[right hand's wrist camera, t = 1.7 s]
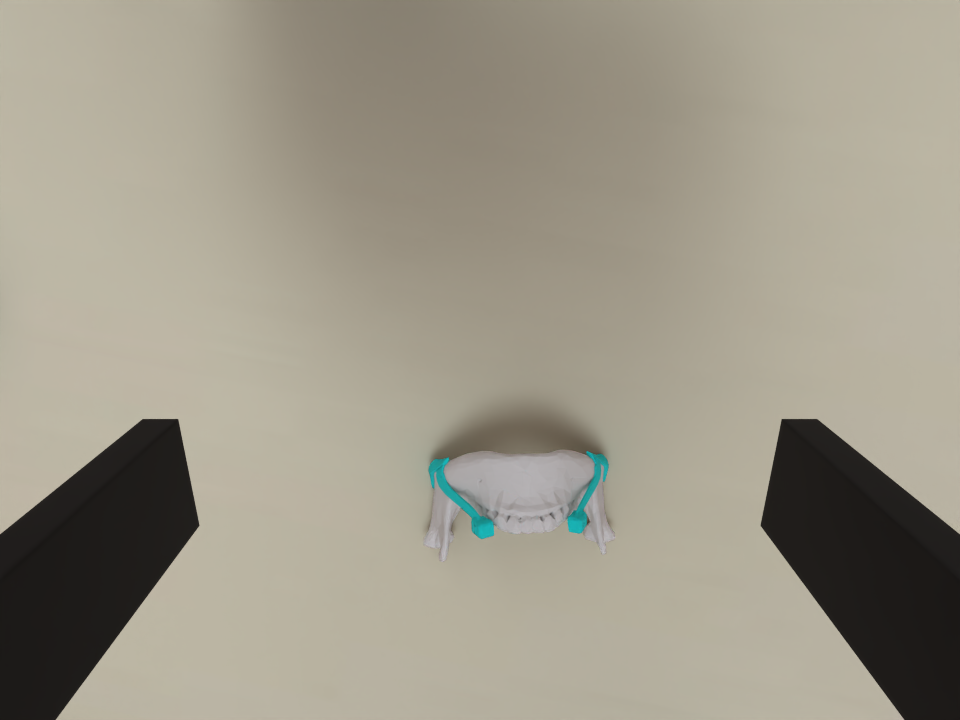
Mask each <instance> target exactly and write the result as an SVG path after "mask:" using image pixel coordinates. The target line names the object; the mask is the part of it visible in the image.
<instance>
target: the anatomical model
mask: <svg viewBox="0 0 960 720" xmlns="http://www.w3.org/2000/svg"><path fill="white" fill-rule="evenodd" d="M608 467H609V464H608V461H607V459H606V458H605V456H604V455H602V454H598V455H595V454H593V453H590V452H588V451H587V455H585V454H582V453H579V452H576V451H572V450H566V449H560V450H556V451H552V452H549V453H523V454H504V453H497V452H494V451H478V452H472V453H467V454H464V455H462V456H459V457H457V458H454V459H452V460H449V457H447V458H444V459H435V460H433V461H432V463H431V464H430V466H429V474H430V478H431V484H432V487H433V488H435V489H434V496H433V509H432V519H431V524H430V527H429V530H428V532H427V534H426V535H425V537H424V545H425V546H427V547H430V548H440V552H439V560H440V561H442V562H444V561H445V560H446V558H447V554H448V549H449V543H451V542H452V541H453V539H454V535H453V532H452V531H451V527H452V523H453V521H454V519H455V517H456V515H457V514H458V512H459V511H460V509H461V508H462V509H463V510H464V511H465V512H466V513H467V514H468V515H470V516H471V517H472V521H471V523H472V532H473V533H475V535H477V536H478V537H479V538H480V539H484V538H487V537H490V536H494V525H497V528H498V529H500V530H502V531H505V532H509V533H513V534H519V533H527V534H529V533H544V532H550V531H553V530H554V529H555V527H558V526H559V525H560V524H561V523H562V522H564V521H565V520H566V519H567V518H568V528H569V532H573V533H582V531H583V530H584V531H583V533H584V536H585V539H587V540H591V541H595V542H597V544H598V546H599V548H600V550H601V553H602V554H606V545H605V543H606V542H608V541H611V540H614V539H615V533H614V532H613V530H612V529H611V528H610V526H609V524H608V522H607V520H606V515H605V510H604V493H603V482H604V481H605V479H606V475H607V471H608ZM583 510H585V512H586V513H585V512H584V511H583ZM571 513H572V514H571ZM570 514H571V515H570ZM569 515H570V516H569ZM587 516H588V518H589V521H590V522H589V523H588V524H587Z"/></svg>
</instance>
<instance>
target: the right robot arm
mask: <svg viewBox="0 0 960 720" xmlns="http://www.w3.org/2000/svg"><path fill="white" fill-rule="evenodd" d="M198 527H199V521H198V516H197V511H196V506H195V501H194V496H193V491H192V486H191V481H190V476H189V471H188V466H187V461H186V456H185V451H184V446H183V441H182V436H181V431H180V426H179V421H178V419H142V420H141V421H140V422H139V423H138V424H136V425H135V426H134V427H133V428H131V429H130V430H129V431H128V432H126V433H125V434H124V435H123V436H121V437H120V438H119V439H118V440H116V441H115V442H114V443H113V444H112V445H110V446H109V447H108V448H107V449H105V450H104V451H103V452H102V453H100V454H99V455H98V456H97V457H95V458H94V459H93V460H92V461H90V462H89V463H88V464H87V465H86V466H84V467H83V468H82V469H81V470H79V471H78V472H77V473H76V474H74V475H73V476H72V477H71V478H69V479H68V480H67V481H66V482H64V483H63V484H62V485H61V486H60V487H58V488H57V489H56V490H55V491H53V492H52V493H51V494H50V495H48V496H47V497H46V498H45V499H43V500H42V501H41V502H40V503H38V504H37V505H36V506H35V507H34V508H32V509H31V510H30V511H29V512H27V513H26V514H25V515H24V516H22V517H21V518H20V519H19V520H17V521H16V522H15V523H14V524H12V525H11V526H10V527H9V528H8V529H6V530H5V531H4V532H3V533H1V534H0V720H56V718H57V717H58V716H59V714H60V713H61V712H62V710H63V709H64V708H65V706H66V705H67V704H68V702H69V701H70V700H71V698H72V697H73V696H74V694H75V693H76V691H77V690H78V689H79V687H80V686H81V685H82V683H83V682H84V681H85V679H86V678H87V677H88V675H89V674H90V673H91V671H92V670H93V669H94V667H95V666H96V664H97V663H98V662H99V660H100V659H101V658H102V656H103V655H104V654H105V652H106V651H107V650H108V648H109V647H110V646H111V644H112V643H113V642H114V640H115V639H116V637H117V636H118V635H119V633H120V632H121V631H122V629H123V628H124V627H125V625H126V624H127V623H128V621H129V620H130V619H131V617H132V616H133V615H134V613H135V612H136V610H137V609H138V608H139V606H140V605H141V604H142V602H143V601H144V600H145V598H146V597H147V596H148V594H149V593H150V592H151V590H152V589H153V588H154V586H155V585H156V583H157V582H158V581H159V579H160V578H161V577H162V575H163V574H164V573H165V571H166V570H167V569H168V567H169V566H170V565H171V563H172V562H173V561H174V559H175V558H176V556H177V555H178V554H179V552H180V551H181V550H182V548H183V547H184V546H185V544H186V543H187V542H188V540H189V539H190V538H191V536H192V535H193V534H194V532H195V531H196V530H197V528H198ZM761 527H762V528H763V529H764V531H765V532H766V534H767V535H768V536H769V538H770V539H771V540H772V542H773V543H774V544H775V546H776V547H777V548H778V550H779V551H780V552H781V554H782V555H783V556H784V558H785V559H786V561H787V562H788V563H789V565H790V566H791V567H792V569H793V570H794V571H795V573H796V574H797V575H798V577H799V578H800V579H801V581H802V582H803V583H804V585H805V586H806V588H807V589H808V590H809V592H810V593H811V594H812V596H813V597H814V598H815V600H816V601H817V602H818V604H819V605H820V606H821V608H822V609H823V610H824V612H825V613H826V615H827V616H828V617H829V619H830V620H831V621H832V623H833V624H834V625H835V627H836V628H837V629H838V631H839V632H840V633H841V635H842V636H843V637H844V639H845V640H846V642H847V643H848V644H849V646H850V647H851V648H852V650H853V651H854V652H855V654H856V655H857V656H858V658H859V659H860V660H861V662H862V663H863V664H864V666H865V667H866V669H867V670H868V671H869V673H870V674H871V675H872V677H873V678H874V679H875V681H876V682H877V683H878V685H879V686H880V687H881V689H882V690H883V691H884V693H885V694H886V696H887V697H888V698H889V700H890V701H891V702H892V704H893V705H894V706H895V708H896V709H897V710H898V712H899V713H900V714H901V716H902V717H903V718H904V720H960V534H959V533H957V532H956V531H955V530H954V529H952V528H951V527H950V526H949V525H948V524H946V523H945V522H944V521H943V520H941V519H940V518H939V517H938V516H936V515H935V514H934V513H933V512H931V511H930V510H929V509H928V508H926V507H925V506H924V505H923V504H922V503H920V502H919V501H918V500H917V499H915V498H914V497H913V496H912V495H910V494H909V493H908V492H907V491H905V490H904V489H903V488H902V487H900V486H899V485H898V484H897V483H896V482H894V481H893V480H892V479H891V478H889V477H888V476H887V475H886V474H884V473H883V472H882V471H881V470H879V469H878V468H877V467H876V466H874V465H873V464H872V463H871V462H870V461H868V460H867V459H866V458H865V457H863V456H862V455H861V454H860V453H858V452H857V451H856V450H855V449H853V448H852V447H851V446H850V445H848V444H847V443H846V442H845V441H844V440H842V439H841V438H840V437H839V436H837V435H836V434H835V433H834V432H832V431H831V430H830V429H829V428H827V427H826V426H825V425H824V424H822V423H821V422H820V421H819V420H818V419H782V421H781V426H780V431H779V436H778V441H777V446H776V451H775V456H774V461H773V466H772V471H771V476H770V481H769V486H768V491H767V496H766V501H765V506H764V511H763V516H762V521H761Z"/></svg>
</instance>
